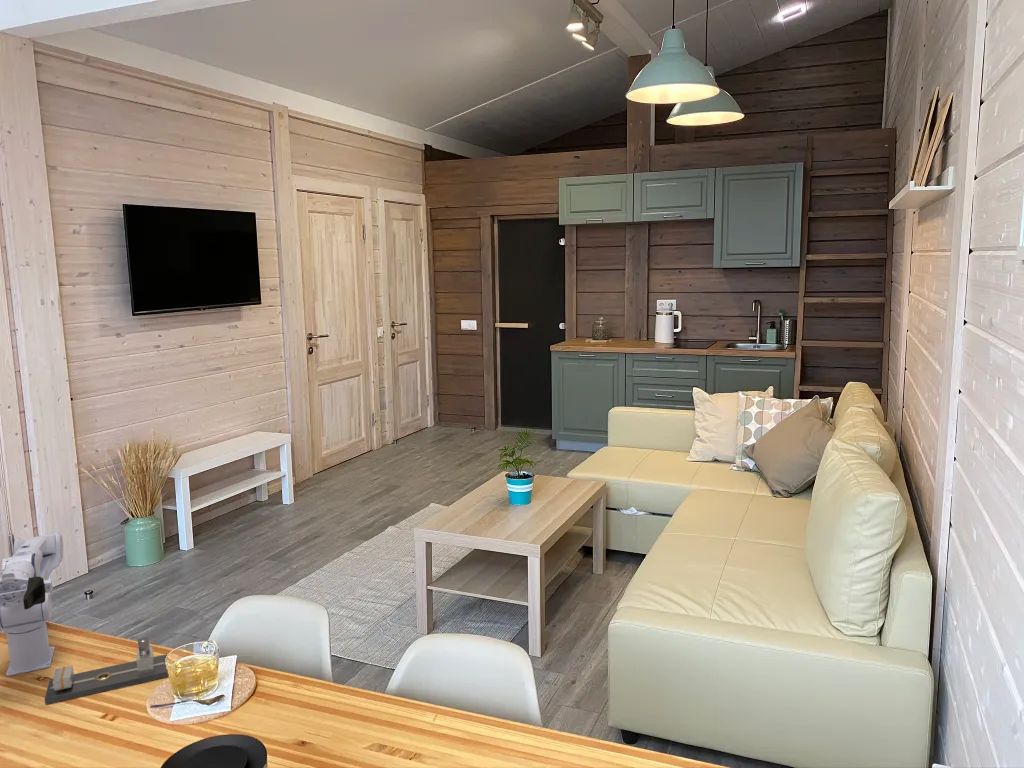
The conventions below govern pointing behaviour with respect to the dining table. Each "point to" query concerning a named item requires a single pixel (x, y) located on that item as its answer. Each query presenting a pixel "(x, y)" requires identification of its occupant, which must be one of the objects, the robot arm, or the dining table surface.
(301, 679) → the dining table surface
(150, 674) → the plate
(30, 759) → the dining table surface
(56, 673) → the block
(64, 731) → the dining table surface
